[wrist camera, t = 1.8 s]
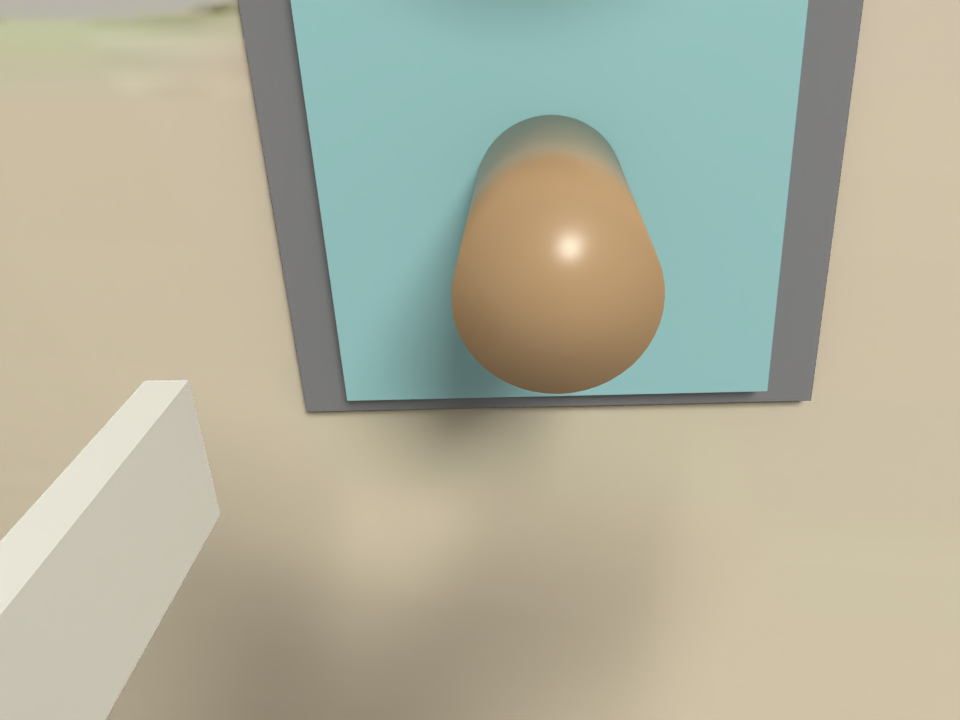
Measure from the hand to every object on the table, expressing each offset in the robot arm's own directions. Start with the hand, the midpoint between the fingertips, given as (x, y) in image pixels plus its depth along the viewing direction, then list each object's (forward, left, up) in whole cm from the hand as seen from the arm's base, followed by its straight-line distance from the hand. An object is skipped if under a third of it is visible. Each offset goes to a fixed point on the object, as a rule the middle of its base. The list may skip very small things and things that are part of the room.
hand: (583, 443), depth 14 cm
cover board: (0, 0, -18) cm, 18 cm away
